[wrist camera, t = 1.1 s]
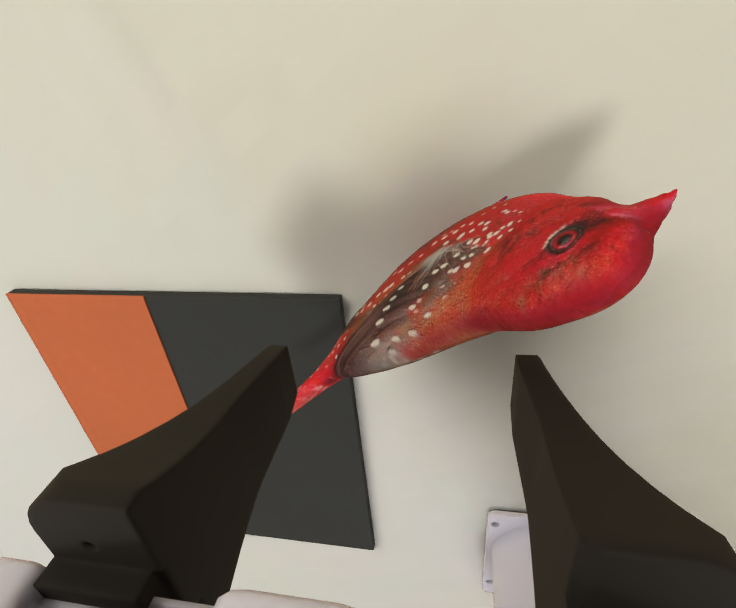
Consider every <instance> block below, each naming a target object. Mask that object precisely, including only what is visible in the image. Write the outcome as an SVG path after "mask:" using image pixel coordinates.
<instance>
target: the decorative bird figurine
mask: <svg viewBox="0 0 736 608" xmlns="http://www.w3.org/2000/svg"><path fill="white" fill-rule="evenodd" d="M676 195H677V189H675V190H673V191H671V192H670V193H664V194H661V195H659V196H657V197H654V198H650V199H646V200H644V201H641V202H639V203H635V204H632V205H621V204H617V203H614V202H612V201H609V200H607V199H604V198H600V197H589V196H586V197H572V196H565V195H561V194H555V193H537V194H529V195H524V196H519V197H516V198H512V199H509V200H505V199H506V198H507V196H505V197H504V198H502V199H501V200H499V201H498V202H496V203H495V204H493V205H491V206H489V207H486V208H484V209H482V210H480V211H478V212H476V213H474V214H472V215H470V216H468V217H466V218H464V219H462V220H461V221H459V222H457V223H455V224H454V225H452V226H451V227H449V228H448V229H446V230H445V231H443V232H442V233H440V234H439V235H437V236H436V237H434V238H433V239H431V240H430V241H429V242H427V243H426V244H425V245H423V246H422V247H421V248H419V249H418V250H417V251H416V252H415V253H414V254H412V255H411V256H410V257H409V258H408V259H407V260H406V261H404V262H403V263H402V264H401V265H400V266H399V267H398V268H397V269H396V270H395V271H394V272H393V273H392V274H391V275H390V276H389V277H388V279H387V280H386V281H385V282H384V283H383V284H382V285H381V286H380V287H379V289H378V290H377V291H376V292H375V293H374V294H373V295H372V297H371V298H370V299H369V300H368V301H367V302H366V303H365V304H364V305H363V307H362V308H361V309H360V310H359V311H358V312H357V313H356V314H355V315H354V316H353V318H352V319H351V320H350V322H349V323H348V324H347V326H346V327H345V329H344V331H343V332H342V334H341V335H340V337H339V339H338V341H337V342H336V344H335V345H334V347H333V349H332V350H331V352H330V354H329V355H328V356H327V358H326V359H325V360H324V361H323V363H322V364H321V365H320V366H319V367H318V368H317V370H316V371H315V372H314V373H313V374H312V375H311V376H310V377H309V378H308V379H306V381H305V382H304V383H303V384H302V385H301V386H299V387H298V389H297V392H298V393H297V397H296V400H295V404H294V408H293V411H292V413H294V412H295V411H296V410H298V409H299V408H301V407H302V406H303V405H305V404H306V403H307V402H309V401H310V400H312V399H313V398H314V397H316V396H317V395H319V394H320V393H321V392H322V391H324V390H325V389H327V388H328V387H330V386H332V385H333V384H334V383H336V382H338V381H339V380H341V379H344V378H350V377H359V376H364V375H369V374H373V373H378V372H382V371H387V370H390V369H393V368H396V367H400V366H403V365H407V364H410V363H413V362H416V361H419V360H421V359H424V358H426V357H429V356H431V355H434V354H436V353H439V352H441V351H444V350H446V349H449V348H451V347H454V346H456V345H459V344H462V343H464V342H467V341H469V340H472V339H476V338H479V337H482V336H485V335H488V334H491V333H494V332H498V331H536V330H543V329H549V328H553V327H556V326H559V325H563V324H566V323H569V322H572V321H576V320H579V319H582V318H585V317H587V316H590V315H593V314H595V313H598V312H600V311H602V310H604V309H606V308H608V307H610V306H612V305H613V304H615V303H616V302H618V301H619V300H621V299H622V298H623V297H624V296H626V295H627V294H628V293H629V292H630V291H631V290H632V289H633V288H635V287H636V286H637V284H638V283H639V282H640V281H641V279H642V278H643V277H644V275H645V274H646V272H647V270H648V268H649V266H650V263H651V260H652V256H653V243H654V236H655V234H656V232H657V231H658V229H659V227H660V226H661V224H662V221H663V220H664V219H665V218H666V216H667V215H668V213H669V211H670V210H671V207H672V203H673V201H674V200H675V198H676ZM504 200H505V201H504Z"/></svg>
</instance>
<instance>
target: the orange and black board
mask: <svg viewBox="0 0 736 608" xmlns="http://www.w3.org/2000/svg"><path fill="white" fill-rule="evenodd" d="M6 296H7V297H8V299H9V301H10V302H11V304H12V306H13V308H14V309H15V311H16V313H17V315H18V316H19V318H20V320H21V322H22V323H23V325H24V327H25V328H26V330H27V332H28V334H29V335H30V337H31V339H32V341H33V342H34V344H35V346H36V348H37V349H38V351H39V353H40V354H41V356H42V358H43V360H44V361H45V363H46V365H47V367H48V368H49V370H50V372H51V374H52V375H53V377H54V379H55V380H56V382H57V384H58V386H59V387H60V389H61V391H62V393H63V394H64V396H65V398H66V400H67V401H68V403H69V405H70V406H71V408H72V410H73V412H74V413H75V415H76V417H77V419H78V420H79V422H80V424H81V426H82V427H83V429H84V431H85V432H86V434H87V436H88V438H89V439H90V441H91V443H92V445H93V446H94V448H95V450H96V452H97V453H98V455H99V454H102V453H104V452H107V451H109V450H111V449H113V448H116V447H118V446H120V445H122V444H125V443H127V442H129V441H131V440H133V439H135V438H137V437H139V436H141V435H143V434H145V433H147V432H149V431H151V430H152V429H154V428H156V427H158V426H160V425H162V424H163V423H165V422H167V421H169V420H171V419H172V418H174V417H176V416H177V415H179V414H180V413H182V412H183V411H185V410H187V409H188V408H190V407H191V406H193V405H194V404H196V403H197V402H199V401H200V400H201V399H203V398H204V397H205V396H207V395H208V394H209V393H211V392H212V391H213V390H215V389H216V388H217V387H219V386H220V385H221V384H223V383H224V382H225V381H227V380H228V379H229V378H230V377H232V376H233V375H234V374H235V373H236V372H238V371H239V370H240V369H241V368H243V367H244V366H245V365H246V364H247V363H248V362H250V361H251V360H252V359H253V358H254V357H256V356H257V355H258V354H259V353H260V352H262V351H263V350H264V349H265V348H267V347H268V346H269V345H284V346H288V351H289V355H290V360H291V364H292V369H293V373H294V378H295V382H296V387H297V389H298V387H299V386H301V385H302V384H303V383H304V382H305V381H306V379H308V378H309V377H310V376H311V375H312V374H313V373H314V372H315V371H316V370H317V368H318V367H319V366H320V365H321V364H322V363H323V361H324V360H325V359H326V358H327V356H328V355H329V354H330V352H331V350H332V349H333V347H334V345H335V344H336V342H337V341H338V339H339V337H340V335H341V334H342V332H343V331H344V329H345V319H344V312H343V304H342V297H341V295H327V294H267V293H207V292H148V291H88V290H29V289H14V290H12V291H10V292H9V293H6ZM245 534H249V535H257V536H265V537H273V538H281V539H289V540H297V541H304V542H312V543H320V544H328V545H336V546H344V547H352V548H360V549H368V550H374V546H375V543H374V535H373V528H372V521H371V513H370V506H369V498H368V491H367V483H366V476H365V468H364V461H363V453H362V446H361V439H360V431H359V424H358V416H357V409H356V401H355V394H354V386H353V379H352V377H350V378H344V379H341V380H339V381H338V382H336V383H334V384H333V385H332V386H330V387H328V388H327V389H325V390H324V391H322V392H321V393H320V394H319V395H317V396H316V397H314V398H313V399H312V400H310V401H309V402H307V403H306V404H305V405H303V406H302V407H301V408H299V409H298V410H296V411H295V412H294V413H292V414H291V418H290V421H289V423H288V425H287V428H286V430H285V432H284V434H283V437H282V439H281V441H280V443H279V446H278V448H277V450H276V452H275V455H274V457H273V459H272V461H271V464H270V466H269V468H268V470H267V472H266V475H265V477H264V479H263V482H262V484H261V487H260V489H259V492H258V495H257V498H256V501H255V504H254V508H253V511H252V514H251V517H250V520H249V523H248V527H247V530H246V533H245Z"/></svg>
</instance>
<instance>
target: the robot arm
mask: <svg viewBox="0 0 736 608" xmlns="http://www.w3.org/2000/svg"><path fill="white" fill-rule="evenodd" d="M297 393H298V392H297V387H296V382H295V378H294V373H293V369H292V364H291V360H290V355H289V351H288V346H284V345H269V346H268V347H267V348H265V349H264V350H263V351H262V352H260V353H259V354H258V355H257V356H256V357H254V358H253V359H252V360H251V361H250V362H248V363H247V364H246V365H245V366H244V367H243V368H241V369H240V370H239V371H238V372H236V373H235V374H234V375H233V376H232V377H230V378H229V379H228V380H227V381H225V382H224V383H223V384H221V385H220V386H219V387H217V388H216V389H215V390H213V391H212V392H211V393H209V394H208V395H207V396H205V397H204V398H203V399H201V400H200V401H199V402H197V403H196V404H194V405H193V406H191V407H190V408H188V409H187V410H185V411H183V412H182V413H180V414H179V415H177V416H176V417H174V418H172V419H171V420H169V421H167V422H165V423H163V424H162V425H160V426H158V427H156V428H154V429H152V430H151V431H149V432H147V433H145V434H143V435H141V436H139V437H137V438H135V439H133V440H131V441H129V442H127V443H125V444H122V445H120V446H118V447H116V448H113V449H111V450H109V451H107V452H104V453H102V454H99V455H97V456H94V457H91V458H89V459H86V460H84V461H81V462H78V463H76V464H73V465H70V466H67V467H65V468H63V469H62V470H61V471H60V472H59V473H58V474H57V476H56V477H55V478H54V479H53V480H52V481H51V482H50V484H49V485H48V486H47V487H46V488H45V489H44V490H43V492H42V493H41V494H40V495H39V496H38V497H37V498H36V499H35V501H34V502H33V503H32V504H31V505H30V506H29V509H28V518H29V522H30V524H31V526H32V527H33V529H34V530H35V532H36V533H37V534H38V535H39V537H40V538H41V539H42V541H43V542H44V543H45V544H46V546H47V547H48V548H49V549H50V551H51V552H52V553H53V554H54V558H53V559H52V560H51V562H50V563H49V564H48V566H47V567H44V566H43V565H41V564H39V563H36V562H32V561H26V560H19V559H13V558H6V557H1V558H0V608H354V607H350V606H347V605H343V604H340V603H334V602H328V601H321V600H314V599H308V598H301V597H294V596H288V595H281V594H274V593H268V592H261V591H254V590H231V591H230V588H231V584H232V580H233V576H234V572H235V569H236V565H237V561H238V558H239V554H240V550H241V547H242V543H243V540H244V537H245V533H246V530H247V527H248V523H249V520H250V517H251V514H252V511H253V508H254V504H255V501H256V498H257V495H258V492H259V489H260V487H261V484H262V482H263V479H264V477H265V475H266V472H267V470H268V468H269V466H270V464H271V461H272V459H273V457H274V455H275V452H276V450H277V448H278V446H279V443H280V441H281V439H282V437H283V434H284V432H285V430H286V428H287V425H288V423H289V421H290V418H291V414H292V411H293V408H294V404H295V400H296V397H297ZM510 406H511V421H512V435H513V441H514V446H515V451H516V457H517V462H518V467H519V472H520V477H521V482H522V488H523V493H524V498H525V503H526V510H527V513H517V512H508V511H498V510H492V511H490V512H489V513H488V516H487V528H486V540H485V552H484V564H483V576H482V589H483V590H484V591H486V592H491V593H493V594H494V608H736V553H735V552H734V550H733V549H732V547H731V546H730V544H729V542H728V541H727V539H726V537H725V536H723V535H722V534H720V533H719V532H717V531H716V530H714V529H713V528H711V527H710V526H708V525H707V524H705V523H704V522H702V521H700V520H699V519H697V518H696V517H694V516H693V515H691V514H690V513H688V512H687V511H685V510H684V509H682V508H681V507H680V506H678V505H677V504H676V503H674V502H673V501H671V500H670V499H669V498H667V497H666V496H665V495H663V494H662V493H661V492H659V491H658V490H657V489H656V488H654V487H653V486H652V485H650V484H649V483H648V482H647V481H646V480H645V479H643V478H642V477H641V476H640V475H639V474H637V473H636V472H635V471H634V470H633V469H631V468H630V467H629V466H628V465H627V464H626V463H625V462H624V461H623V460H621V459H620V458H619V457H618V456H617V455H616V454H615V453H614V452H613V451H612V450H611V449H610V448H609V447H608V446H607V445H606V444H605V443H604V442H603V441H602V440H601V439H600V438H599V437H598V435H597V434H596V433H595V432H594V431H593V430H592V429H591V428H590V427H589V425H588V424H587V423H586V422H585V421H584V420H583V418H582V417H581V416H580V415H579V413H578V412H577V411H576V410H575V409H574V407H573V406H572V405H571V403H570V402H569V401H568V399H567V398H566V397H565V395H564V394H563V393H562V391H561V390H560V388H559V387H558V385H557V384H556V383H555V381H554V380H553V378H552V377H551V375H550V373H549V372H548V370H547V369H546V367H545V365H544V364H543V362H542V360H541V359H540V358H539V357H538V356H537V355H516V357H515V367H514V376H513V386H512V395H511V405H510Z"/></svg>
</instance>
